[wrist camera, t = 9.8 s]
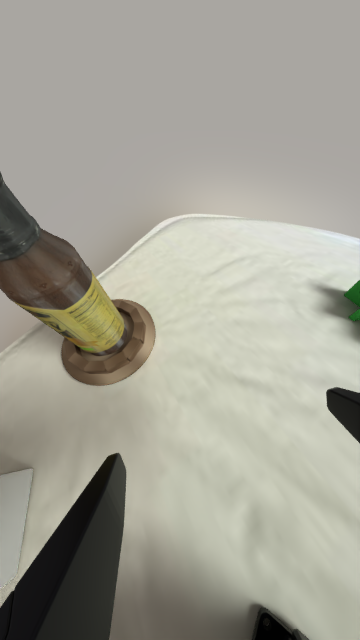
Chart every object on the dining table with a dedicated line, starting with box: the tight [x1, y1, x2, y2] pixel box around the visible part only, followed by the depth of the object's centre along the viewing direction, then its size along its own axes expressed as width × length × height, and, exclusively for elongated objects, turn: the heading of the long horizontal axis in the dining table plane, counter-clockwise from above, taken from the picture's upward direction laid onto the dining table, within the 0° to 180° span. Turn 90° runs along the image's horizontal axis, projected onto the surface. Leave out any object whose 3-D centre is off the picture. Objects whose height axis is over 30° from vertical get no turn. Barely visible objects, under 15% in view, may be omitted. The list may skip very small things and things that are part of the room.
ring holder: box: [62, 299, 155, 386], centre depth 25 cm, size 13×13×2 cm
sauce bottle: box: [0, 173, 127, 356], centre depth 17 cm, size 6×6×20 cm
